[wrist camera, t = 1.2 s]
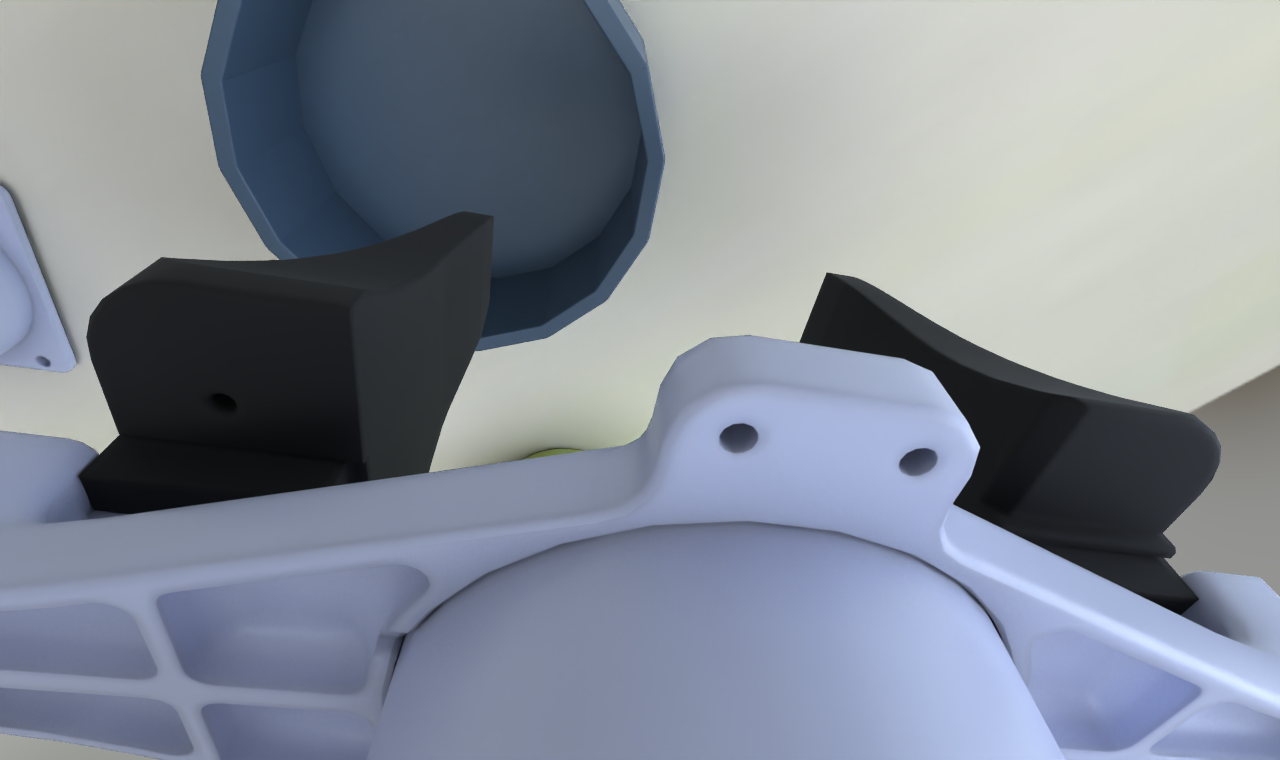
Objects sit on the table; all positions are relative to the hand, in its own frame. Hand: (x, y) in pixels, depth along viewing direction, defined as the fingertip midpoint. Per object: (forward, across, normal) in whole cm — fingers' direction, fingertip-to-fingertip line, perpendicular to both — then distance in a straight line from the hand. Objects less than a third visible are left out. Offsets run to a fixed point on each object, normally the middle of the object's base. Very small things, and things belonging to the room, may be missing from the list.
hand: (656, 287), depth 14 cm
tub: (+10, +6, 0) cm, 12 cm away
